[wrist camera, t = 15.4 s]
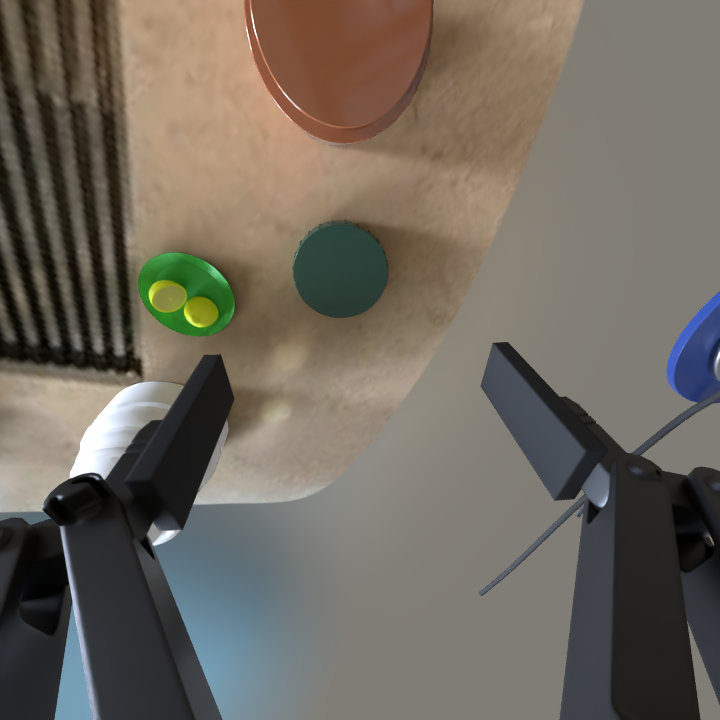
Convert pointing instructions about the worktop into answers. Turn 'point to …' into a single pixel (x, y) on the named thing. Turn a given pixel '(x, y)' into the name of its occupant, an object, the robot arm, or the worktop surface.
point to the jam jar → (340, 61)
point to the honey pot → (132, 434)
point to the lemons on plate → (186, 294)
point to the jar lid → (340, 269)
